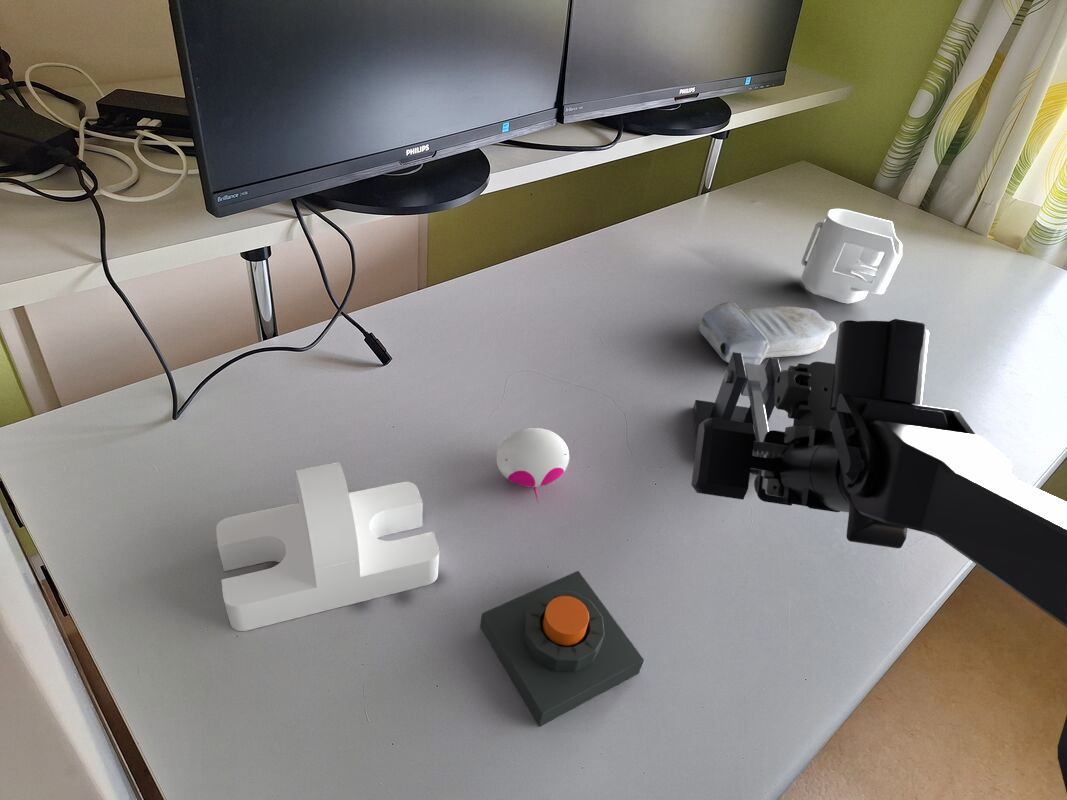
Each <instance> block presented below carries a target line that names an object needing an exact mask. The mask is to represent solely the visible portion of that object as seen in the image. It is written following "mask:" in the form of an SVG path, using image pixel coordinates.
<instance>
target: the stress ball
mask: <svg viewBox="0 0 1067 800" xmlns="http://www.w3.org/2000/svg"><path fill="white" fill-rule="evenodd" d="M569 462H570V451H569V447H568V445H567V444H566V442H565V440H564V439H563V437H561V436H559V434H557V433H556V432H553V430H550V429H546V428H542V427H528V428H527V427H525V428H522V429H520V430H516V431H514V432H512V433H511V434H509V435H508V436H506V438H504V439H503V440H502V442H501V443H500V445H499V446H498V449H497V452H496V465H497V467H498V470H499V472H500V474H501V475H502V476H503V477H504V478H505V479H507V480H508V481H509V482H511V483H512V484H515V485H518V486H520V487H526V488H533V491H534V495H535V497H536V499H537V500H536V501H537V503H538V505H539V504H540V503H539V498H538V492H537V488H539V487H542V486H546V485H549V484H551V483H553V482H555V481H556V480H558V479H559V478H560V477H561V476H562V475H563V474H564V473H565V471H567V468H568V466H569Z"/></svg>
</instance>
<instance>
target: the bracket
mask: <svg viewBox="0 0 1067 800" xmlns="http://www.w3.org/2000/svg"><path fill="white" fill-rule="evenodd" d="M765 370H766V375H767V380H768V383H767V385H766V388H765V390H764V392H763V395H762V397H763V402H764V408H765V413H766V419H767V424H768V423H769V420H770V419H771V416H772V413H773V411H774V409H775V380H776V377H777V376H778V375H779V374H780V372H781V371H782V368H781V366H780V362H779V358H778V357H769V358H767V362H766V363H765ZM745 381H746V374H745V368H744V363H743V358H742V353H736V352H733V353H732V356H731V359H730V362H729V363H727V367H726V369H725V372H724V375H723V379H722V381H721V384H720V386H719V390H718V393H717V396H716V397H715V402H713V401H707V400H700V399H695V400H694V404H693V405H692V406H693V407H692V408H693V418H694V419H693V420H694V428H695V439H696V441H697V437H698V430H699V424H701V423H702V422H703V421H705V420H706V419H709V418H717V419H724V420H731V421H738V422H744V423H751V424H753V418H752V412H751V405H749V407H748V406H740V405H737V404H738V401H739V399H740V396H741V391H742V388H743V386H744V383H745ZM753 428H754V424H753ZM754 433H755V431H754ZM754 441H756V437H754ZM752 456H758V452H756V453H755V454H754V453H752ZM758 457H759V456H758ZM750 474H756V475H758V474H759V470H757V469H750Z"/></svg>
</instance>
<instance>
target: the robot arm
mask: <svg viewBox="0 0 1067 800" xmlns="http://www.w3.org/2000/svg"><path fill="white" fill-rule="evenodd" d="M837 332H838V333H837V340H836V341H837V342H836V352H835V359H834V363H830V362H825V361H812V362H811V363H809V364H808V363H800V362H799V363H797V365H789V366H788V368H787V369H783V370H781V372H780V374H779V375H778V376H777V377H776V380H775V406H774V408H776V409H777V410H779V411H780V410H781V411H785V412H786V413H787V418H788V419H792V420H793V422H792V426H786V427H785V428H784V431H781V430H769V432H767V433H766V435H765V437H764V440H763V442H758V441H754V437H755V433H754V428H753V424H751V423H744V422H738V421H731V420H724V419H717V418H709V419H706V420H705V421H703V422H702V423H701V424H699V430H698V437H697V440H696V446H695V453H694V462H693V470H692V476H691V487H692V488H693V489H694V490H695V492H696V493H697V494H700V495H701V494H702V495H708V496H716V497H721V498H729V499H736V500H737V499H738V500H744V499H745V498H746V495H747V493H748V491H749V485H750V476H751V473H750V469H757V470H759V478H758V486H757V493H756V496H757V498H758V499H759V500H760V501H762V502H765V503H770V504H771V503H772V504H778V505H784V506H793V505H796V506H802V507H807V508H809V509H812V510H818V511H826V512H831V513H832V512H833V513H840V512H842V513H843V512H844V513H847V514H848V518H847V528H846V540H847V541H848V542H852V543H857V544H865V545H871V546H879V547H886V548H892V549H902V547H903V545H904V544H905V542H906V540H907V535H908V529H909V530H912V531H916V532H921V533H924V534H929V535H931V536H934V537H937V538H938V539H940V540H941V541H942V542H944V543H945V544H947V545H948V546H949V547H951V548H953V549H954V550H956V551H957V552H959V553H960V554H961V555H962V556H964V557H965V558H967V559H968V560H970V562H973V563H974V564H975V565H977V566H978V567H979V568H981V569H982V570H984V571H985V572H987V573H988V574H989V575H991V576H992V577H994V578H996V579H997V580H998V581H1000V583H1002V584H1004V585H1005V586H1006V587H1008V588H1009V589H1011V590H1012V591H1014V592H1015V593H1017V594H1018V595H1019V596H1020V597H1022V598H1024V599H1025V600H1026V601H1028V602H1029V603H1031V604H1032V605H1034V606H1035V607H1036V608H1038V609H1040V611H1042V612H1043V613H1045V614H1046V615H1048V616H1049V617H1051V618H1052V619H1053V620H1055V621H1056V622H1058V623H1059V624H1061V625H1063V627H1065V628H1066V629H1067V501H1065V500H1063V499H1061V498H1059V497H1057V496H1054V495H1052V494H1050V493H1048V492H1046V491H1043V490H1041V489H1039V488H1037V487H1035V486H1033V485H1031V484H1028V483H1026V482H1024V481H1022V480H1020V479H1019V478H1018V477H1017V476H1015V475H1014V474H1013V473H1012V472H1013V462H1012V461H1011V459H1010V458H1009V457H1008V456H1007V455H1005V454H1004V452H1001V450H999V449H998V447H997V448H996V446H994V445H993V444H992V443H990V442H989V441H988V440H986V439H985V438H984V437H982V436H980V435H978V434H976V432H975V431H974V430H973V429H972V428H971V425H969V423H968V422H967V421H966V419H965V418H964V416H963V415H962V414H961V413H960V411H959V410H956V409H949V408H942V407H935V406H930V405H929V406H928V405H922V403H923V394H924V384H925V375H926V366H927V365H926V364H927V357H928V355H927V354H928V345H929V337H930V332H929V330H928V329H926V324H925V322H922V321H916V320H915V321H914V320H907V319H901V318H894V319H891V320H859V321H858V320H851V319H846V320H843V321H841V322H840V323H839V324H838V331H837ZM756 452H758V454H761V457H758V456H752V453H754V454H755V453H756ZM761 452H762V453H761ZM1057 761H1058V765H1059V768H1060V772H1061V776H1062V781H1063V785H1064V789H1065V793H1066V794H1067V715H1066V716H1065V720H1064V722H1063V726H1062V729H1061V733H1060V737H1059V740H1058V743H1057Z"/></svg>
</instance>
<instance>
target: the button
mask: <svg viewBox="0 0 1067 800" xmlns="http://www.w3.org/2000/svg"><path fill="white" fill-rule="evenodd" d="M588 622H589V613H588V610H587V608H586V607H585V605H584V604H583V603H582V602H581V601H579V600H578V599H576V598H573V597H570V596H560V597H557V598H555V599H553V600H552V601H550V602H549V604H548V605H547V607H546V610H545V615H544V620H543V629H544V632H545V634H546V636H547V637H548V638H549V639H550V640H551V641H552V642H554V643H556V644H558V645H562V646H571V645H574V644H577V643H578V642H580V641H581V640H582V639H583V637H584V635H585V632H586V629H587V625H588Z"/></svg>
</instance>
